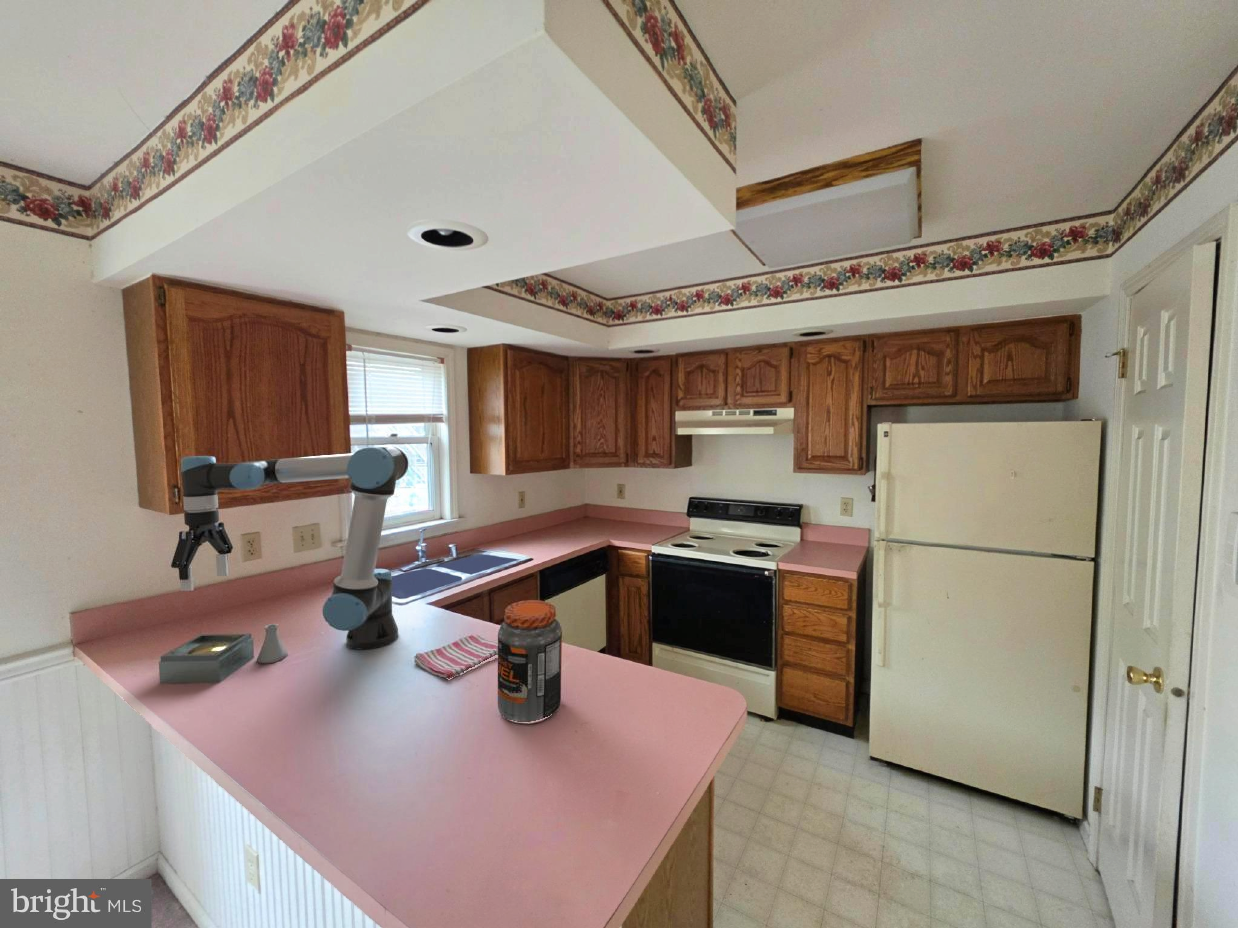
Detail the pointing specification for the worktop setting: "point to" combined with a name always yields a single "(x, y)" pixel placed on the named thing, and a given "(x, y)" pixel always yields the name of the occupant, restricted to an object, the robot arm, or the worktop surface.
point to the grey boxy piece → (206, 658)
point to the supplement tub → (529, 661)
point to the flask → (271, 646)
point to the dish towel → (457, 656)
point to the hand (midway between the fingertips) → (205, 582)
